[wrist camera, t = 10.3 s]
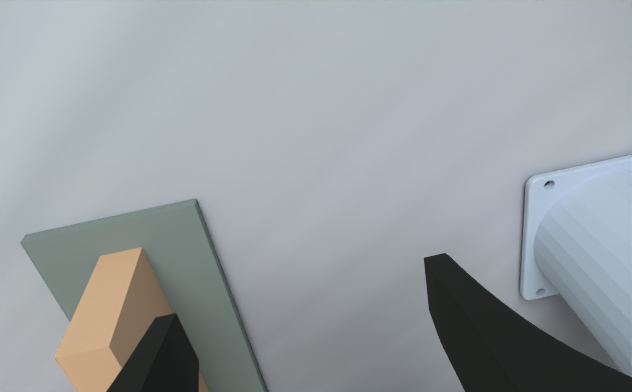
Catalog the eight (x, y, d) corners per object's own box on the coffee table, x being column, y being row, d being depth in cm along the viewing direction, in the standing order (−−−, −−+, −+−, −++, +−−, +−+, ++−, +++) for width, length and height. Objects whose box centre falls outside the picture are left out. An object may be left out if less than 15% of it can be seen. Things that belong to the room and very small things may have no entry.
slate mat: (196, 198, 22) (194, 205, 22) (273, 410, 30) (274, 419, 30) (25, 235, 22) (20, 243, 22) (149, 437, 30) (148, 446, 30)
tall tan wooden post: (142, 247, 22) (108, 346, 17) (215, 405, 29) (206, 513, 24) (100, 255, 22) (54, 358, 17) (182, 412, 29) (166, 522, 24)
